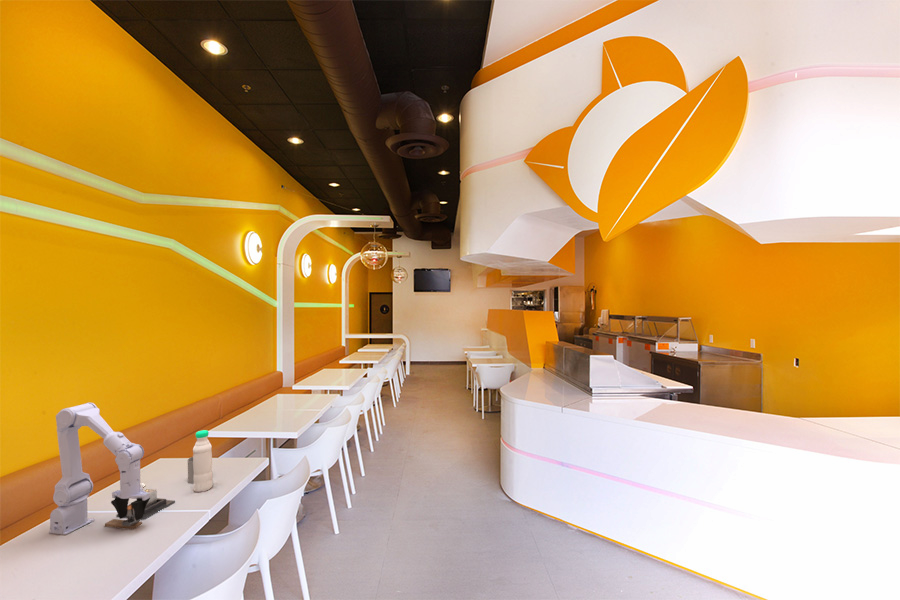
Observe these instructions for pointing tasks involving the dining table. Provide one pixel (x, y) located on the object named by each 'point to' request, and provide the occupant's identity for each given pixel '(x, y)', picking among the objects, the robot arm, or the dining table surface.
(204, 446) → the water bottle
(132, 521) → the lever
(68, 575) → the dining table surface
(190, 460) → the cup
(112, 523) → the rail
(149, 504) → the block
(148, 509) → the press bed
